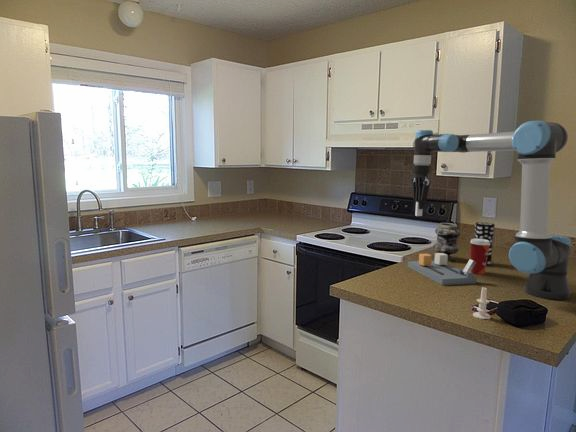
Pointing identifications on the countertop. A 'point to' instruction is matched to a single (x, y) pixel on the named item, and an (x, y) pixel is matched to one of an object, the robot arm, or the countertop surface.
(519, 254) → the robot arm
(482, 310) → the candle
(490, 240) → the white-spotted black cylinder
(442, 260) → the block
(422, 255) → the orange fader
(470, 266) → the paddle lever
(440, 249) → the apothecary jar
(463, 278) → the panel
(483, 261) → the coffee cup
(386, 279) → the countertop surface
